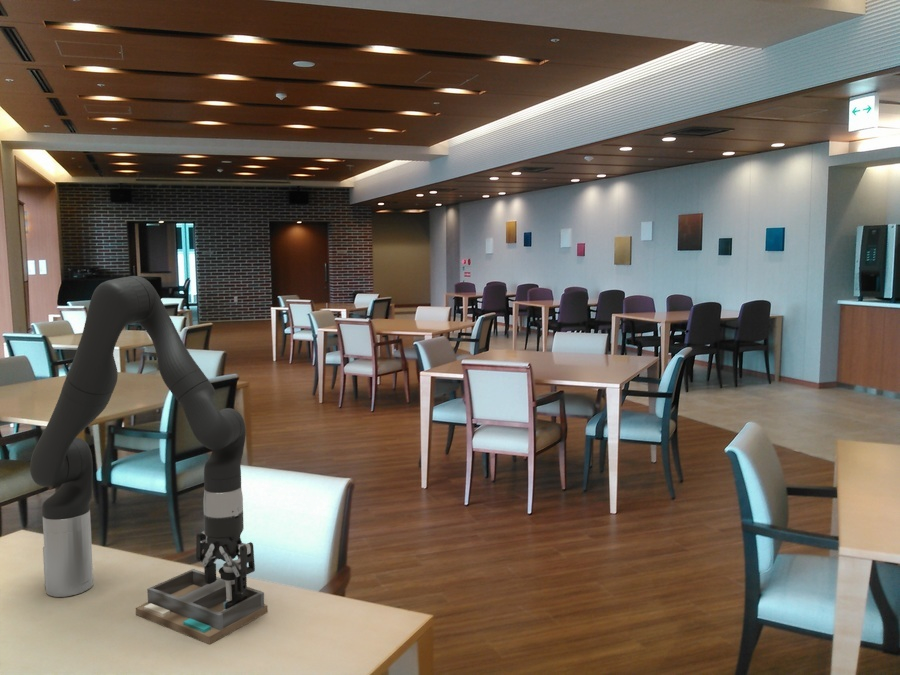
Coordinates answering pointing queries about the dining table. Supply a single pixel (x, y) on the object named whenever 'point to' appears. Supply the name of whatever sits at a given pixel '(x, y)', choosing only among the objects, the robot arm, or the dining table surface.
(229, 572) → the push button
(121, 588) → the dining table surface
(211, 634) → the dock
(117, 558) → the dining table surface
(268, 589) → the dining table surface
